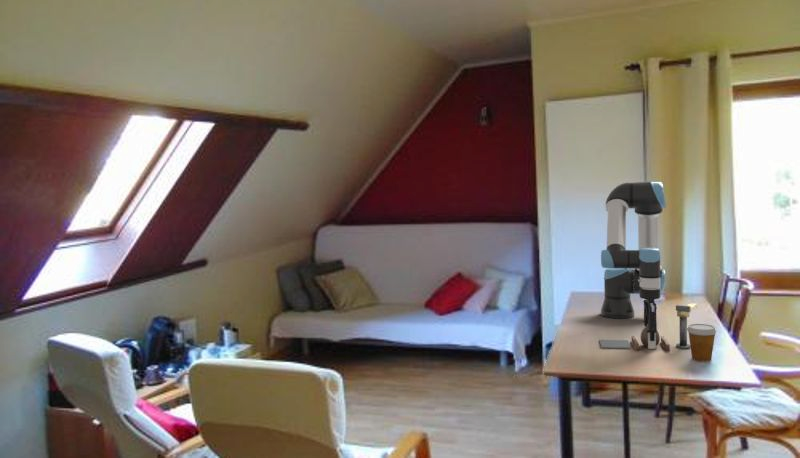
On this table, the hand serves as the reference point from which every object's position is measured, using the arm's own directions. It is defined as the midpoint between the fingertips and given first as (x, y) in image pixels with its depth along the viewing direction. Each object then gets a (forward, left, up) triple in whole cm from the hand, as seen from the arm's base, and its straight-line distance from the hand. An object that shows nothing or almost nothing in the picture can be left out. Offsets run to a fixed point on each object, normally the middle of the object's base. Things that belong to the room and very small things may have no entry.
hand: (650, 345), depth 239 cm
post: (0, +12, 0) cm, 12 cm away
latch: (-6, +15, +12) cm, 20 cm away
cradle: (0, 0, 0) cm, 0 cm away
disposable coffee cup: (+15, +15, 0) cm, 21 cm away
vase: (0, 0, 0) cm, 0 cm away
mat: (-1, -13, 0) cm, 13 cm away
